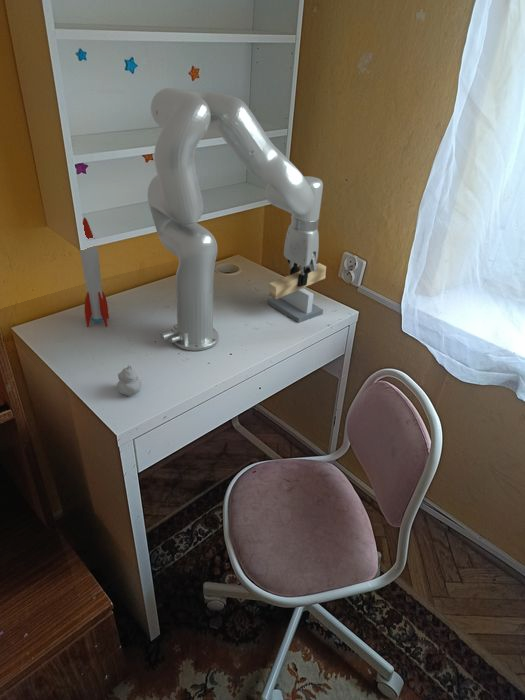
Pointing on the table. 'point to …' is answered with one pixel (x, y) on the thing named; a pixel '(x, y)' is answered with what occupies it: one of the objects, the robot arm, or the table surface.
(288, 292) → the rod
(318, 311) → the fulcrum
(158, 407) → the table surface
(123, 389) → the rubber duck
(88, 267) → the toy rocket
